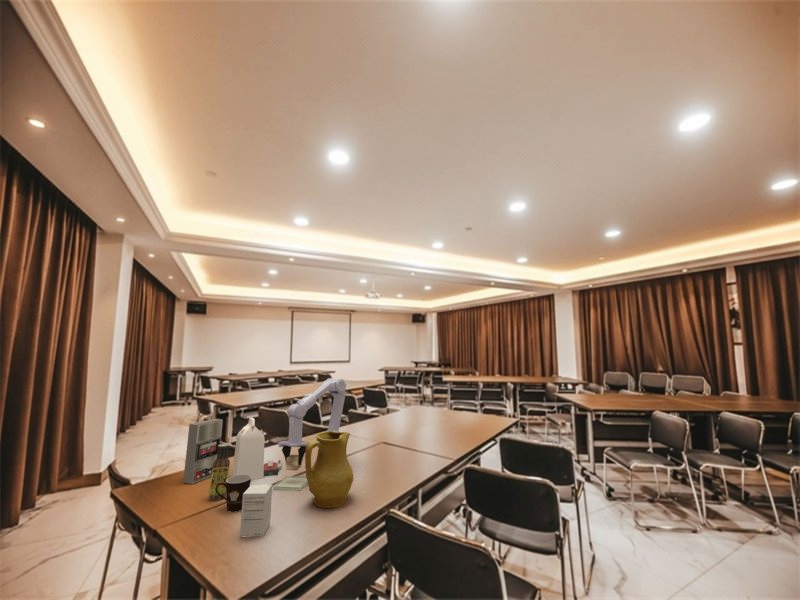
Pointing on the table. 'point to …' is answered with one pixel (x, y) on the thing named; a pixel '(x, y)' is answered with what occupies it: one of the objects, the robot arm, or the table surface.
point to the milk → (249, 452)
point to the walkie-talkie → (272, 468)
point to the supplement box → (256, 510)
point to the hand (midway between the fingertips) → (293, 464)
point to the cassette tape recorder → (202, 449)
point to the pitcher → (329, 469)
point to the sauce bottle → (219, 473)
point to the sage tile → (291, 483)
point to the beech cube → (292, 463)
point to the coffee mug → (235, 491)
